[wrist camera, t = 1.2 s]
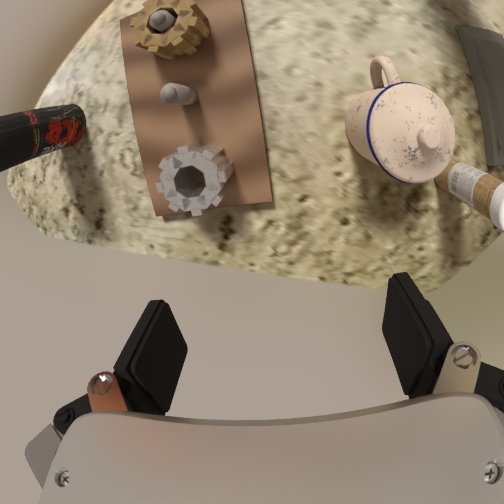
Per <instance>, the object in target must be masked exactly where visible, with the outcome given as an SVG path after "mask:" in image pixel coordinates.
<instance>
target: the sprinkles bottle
mask: <svg viewBox="0 0 504 504" xmlns="http://www.w3.org/2000/svg"><path fill="white" fill-rule="evenodd" d="M435 180H436V183H437V184H438V186H439V187H440V188H441V189H443V190H445V191H448V192H449V193H451V194H452V195H454V196H455V197H456V198H458V199H459V200H461V201H462V202H464V203H465V204H467V205H469V206H471V207H472V208H474V209H475V210H477V211H478V212H480V213H481V214H483V215H484V216H486V217H488V218H489V219H490V220H491V221H492V223H493V224H494V225H495V226H497V227H498V228H499V229H501V230H502V231H504V182H503V181H501V180H499V179H497V178H495V177H493V176H492V175H490V174H488V173H486V172H483V171H481V170H479V169H477V168H475V167H472V166H470V165H468V164H465V163H462V162H459V161H457V160H455V159H453V158H451V160H450V162H449V164H448V165H447V167H446V168H445V170H444V171H443V172H442V173H441V174H439V175H438V176H437V177H435Z"/></svg>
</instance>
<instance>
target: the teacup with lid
mask: <svg viewBox="0 0 504 504" xmlns="http://www.w3.org/2000/svg"><path fill="white" fill-rule="evenodd" d="M382 68H383V70H384V72H385V75H386V78H387V81H388V85H389V86H388V87H384V84H383V80H382V74H381V70H382ZM370 77H371V82H372V85H373V90H369V91H366V92H363V93H361V94H360V95H358V96H357V97H356V98H355V99H354V100H353V101H352V103H351V104H350V106H349V108H348V110H347V114H346V120H345V125H346V132H347V135H348V138H349V141H350V142H351V144H352V146H353V147H354V148H355V150H356V151H357V152H358V153H359V154H360V155H362V156H363V157H364V158H366V159H368V160H369V161H371V162H373V163H375V164H376V165H378V166H380V167H381V168H382V169H383V170H384V171H385V172H386V173H387V174H388V175H390V176H391V177H393V178H395V179H396V180H399V181H401V182H405V183H411V184H417V183H424V182H427V181H430V180H432V179H434V178H435V177H437V176H438V175H439V174H441V173H442V172H443V171H444V170H445V168H446V167H447V165H448V164H449V162H450V160H451V158H452V155H453V152H454V147H455V129H454V124H453V120H452V118H451V115H450V113H449V111H448V109H447V107H446V106H445V104H444V103H443V102H442V100H441V99H440V98H439V97H438V96H437V95H436V94H435V93H433V92H432V91H431V90H429V89H427V88H426V87H424V86H421V85H419V84H416V83H411V82H400V78H399V75H398V72H397V70H396V67H395V66H394V64H393V63H392V61H391V60H390V59H389V58H387V57H385V56H377V57H375V58H374V59H373V60H372V61H371V64H370Z"/></svg>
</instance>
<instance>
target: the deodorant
mask: <svg viewBox="0 0 504 504" xmlns="http://www.w3.org/2000/svg"><path fill="white" fill-rule="evenodd" d="M85 126H86V120H85V115H84V113H83V110H82V109H81V108H80V107H79V106H77V105H74V104H70V105H61V106H53V107H46V108H40V109H34V110H29V111H24V112H18V113H14V114H9V115H4V116H0V172H2V171H4V170H6V169H9V168H11V167H13V166H16V165H18V164H21V163H23V162H26V161H28V160H31V159H33V158H36V157H39V156H41V155H44V154H47V153H50V152H53V151H56V150H59V149H62V148H65V147H68V146H71V145H74V144H76V143H77V142H78V141H79V140H80V139H81V138H82V136H83V133H84V131H85Z"/></svg>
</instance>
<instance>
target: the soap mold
mask: <svg viewBox="0 0 504 504" xmlns="http://www.w3.org/2000/svg"><path fill="white" fill-rule="evenodd" d="M455 28H456V31H457V33H458V36H459V39H460V41H461V44H462V47H463V50H464V53H465V56H466V59H467V62H468V65H469V69H470V72H471V76H472V79H473V83H474V87H475V91H476V96H477V100H478V105H479V110H480V116H481V122H482V128H483V135H484V143H485V152H486V165H487V166H499V165H504V39H503V36H502V35H501V34H498V33H496V32H493V31H490V30H487V29H481V28H475V27H468V26H458V27H455Z"/></svg>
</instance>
